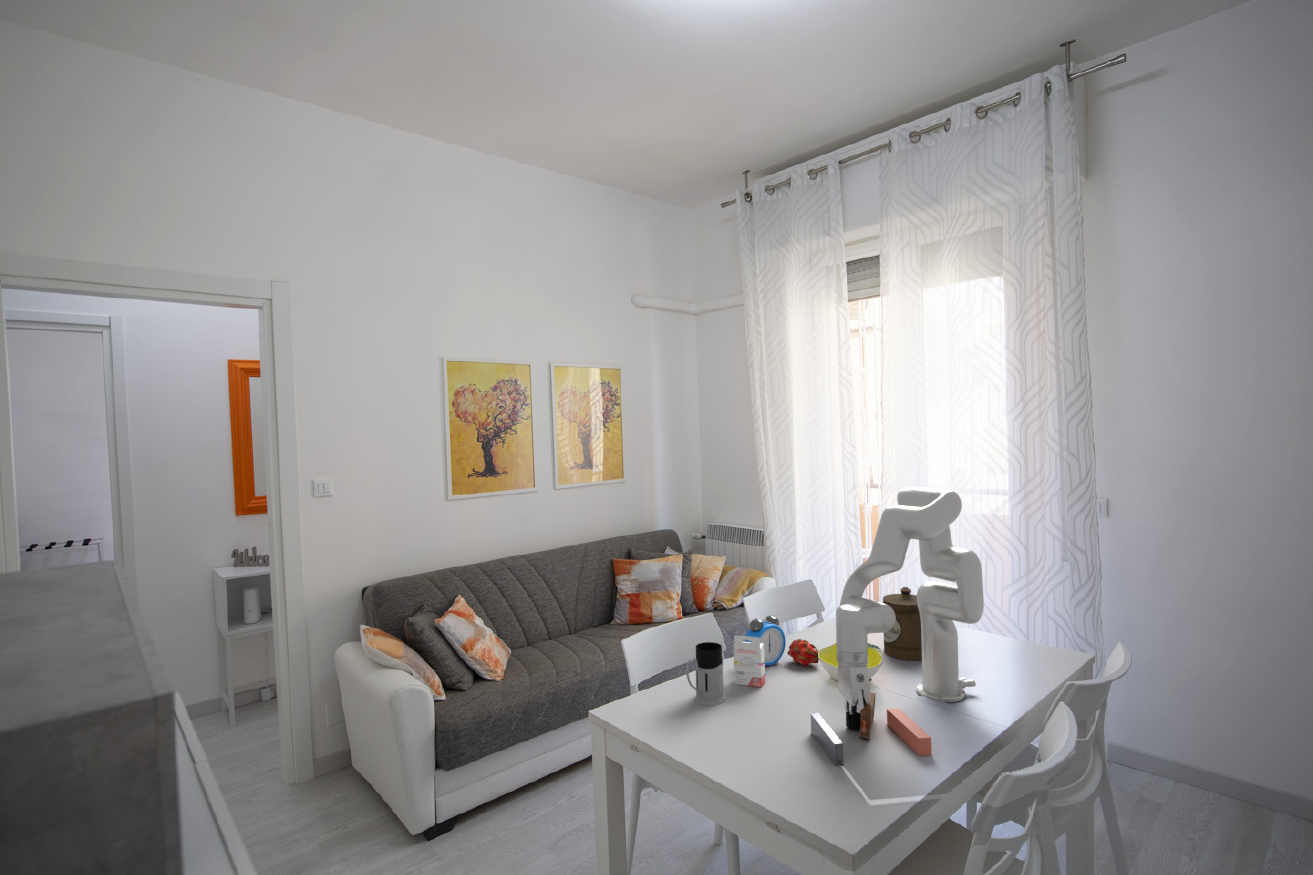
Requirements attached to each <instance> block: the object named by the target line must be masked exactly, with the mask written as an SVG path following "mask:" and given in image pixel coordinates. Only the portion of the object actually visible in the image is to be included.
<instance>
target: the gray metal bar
mask: <svg viewBox="0 0 1313 875" xmlns="http://www.w3.org/2000/svg"><path fill="white" fill-rule="evenodd" d="M810 734H811V735H812V737H813V738H814V739H815V741H816V742H817V744H818V745H819V746H820V748H821V749H822V750H823V751H824V753H825V754H826V755H827V757H828V758H829V760H830V761H831V762H832V764H833V765H834V766H835V767H840V766H844V764H843V763H845V762H844V753H845V752H844V742H843V741H842V740H841V739H840V737H839V736H838V735H837V734H836V733H835V731H834V730H833V729H832V727H831V726H830V725H829V724H828V723H827V722H826V720H825V719H824V718H823V716H821V714H820V713H819V712H813V713H812V712H811V713H810Z"/></svg>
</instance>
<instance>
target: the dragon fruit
mask: <svg viewBox="0 0 1313 875" xmlns="http://www.w3.org/2000/svg"><path fill="white" fill-rule="evenodd" d="M818 653H820V652H819V650H818V649H817V647H816V646H815V645H814V644H812V643H810V642H809V640H806V639H804V640H803V639H802V638H798V639H794V640H793V641H792V642H791V643H790V645H789V646H788V651H787V653H786V654H787V656H790V657H791V658H792V660H793V662H794V664H795V665H797V664H798V663H799V664H800V665H802V667H803V666H804V667H805V668H813V665H810V664H819V661H820V659H819V658H818Z"/></svg>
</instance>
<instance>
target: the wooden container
mask: <svg viewBox="0 0 1313 875" xmlns="http://www.w3.org/2000/svg"><path fill="white" fill-rule="evenodd" d="M911 592H912V590H911V589H910V588H909V587H907V586H903V587H901V588H900V593H892V594H887V595H884V596H883V597H882V603H884V604H887V605H889V606H890V607H891V608H892V609H893V610H894V612H895V616H896V620H895V623H894V625H893V627H892V628H891V629H890V630H888V631H886V632H883V650H884V653H885V654H886V655H888V656H890V657H892V658H894V659H898V660H905V661H906V660H908V661H919V660H920V661H922V639H921V637H922V636H921V618H920V613H919V608H918V604H917V594H911Z"/></svg>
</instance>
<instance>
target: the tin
mask: <svg viewBox="0 0 1313 875" xmlns="http://www.w3.org/2000/svg"><path fill="white" fill-rule="evenodd" d="M876 694H877V693H876V692H871V691H870V696H871V704H870V705H867V704H866V703H865V702H864V701H863V706H864V708H863V709H862V710H861V716H860V720H861V726H860V729H859V731H858V736H859V737H860V738H861V739H865V740H869V741H870V740H871V737H870V736H871V728H872V723H873V722H874V720H875V719H874V718H875V707H876Z"/></svg>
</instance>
